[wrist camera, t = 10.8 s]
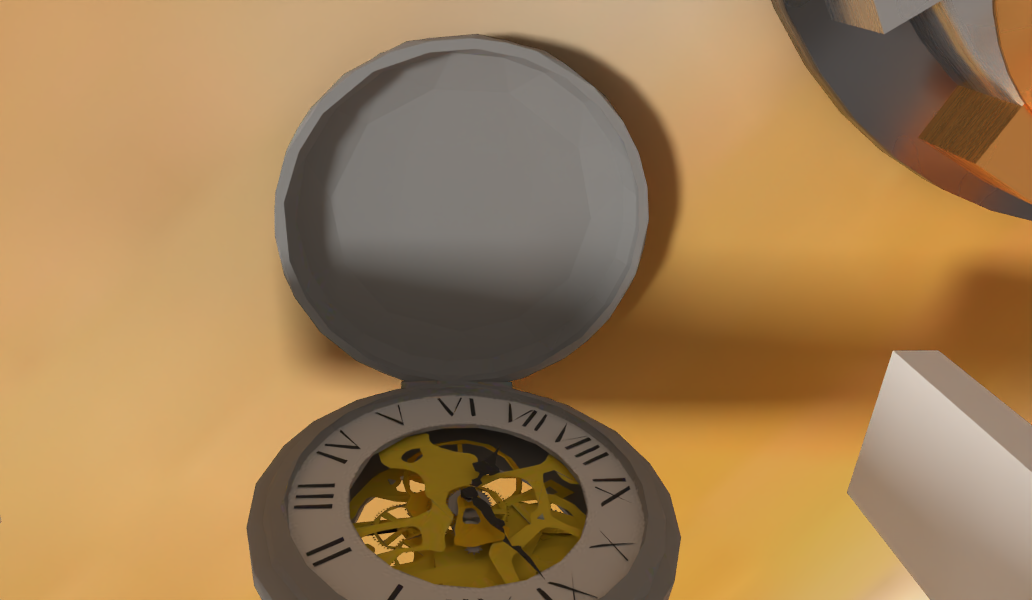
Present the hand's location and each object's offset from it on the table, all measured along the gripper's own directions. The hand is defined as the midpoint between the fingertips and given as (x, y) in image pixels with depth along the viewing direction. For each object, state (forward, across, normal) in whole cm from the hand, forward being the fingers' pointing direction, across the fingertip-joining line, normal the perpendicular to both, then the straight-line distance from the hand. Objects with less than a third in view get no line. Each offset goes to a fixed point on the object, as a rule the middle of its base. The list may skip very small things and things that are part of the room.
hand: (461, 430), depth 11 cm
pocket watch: (+5, 0, +1) cm, 5 cm away
